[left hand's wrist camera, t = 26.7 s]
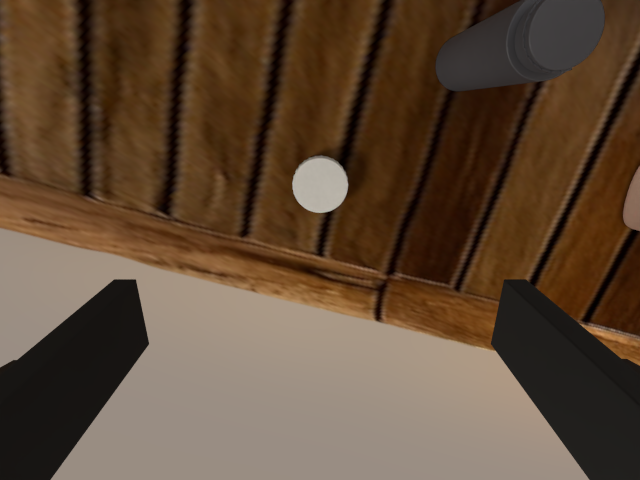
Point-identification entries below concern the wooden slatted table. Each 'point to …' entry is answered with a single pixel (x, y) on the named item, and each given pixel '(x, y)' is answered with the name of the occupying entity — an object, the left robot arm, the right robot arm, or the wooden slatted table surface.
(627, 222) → the anatomical model
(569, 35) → the jar
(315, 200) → the lid
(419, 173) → the wooden slatted table surface
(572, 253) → the wooden slatted table surface
